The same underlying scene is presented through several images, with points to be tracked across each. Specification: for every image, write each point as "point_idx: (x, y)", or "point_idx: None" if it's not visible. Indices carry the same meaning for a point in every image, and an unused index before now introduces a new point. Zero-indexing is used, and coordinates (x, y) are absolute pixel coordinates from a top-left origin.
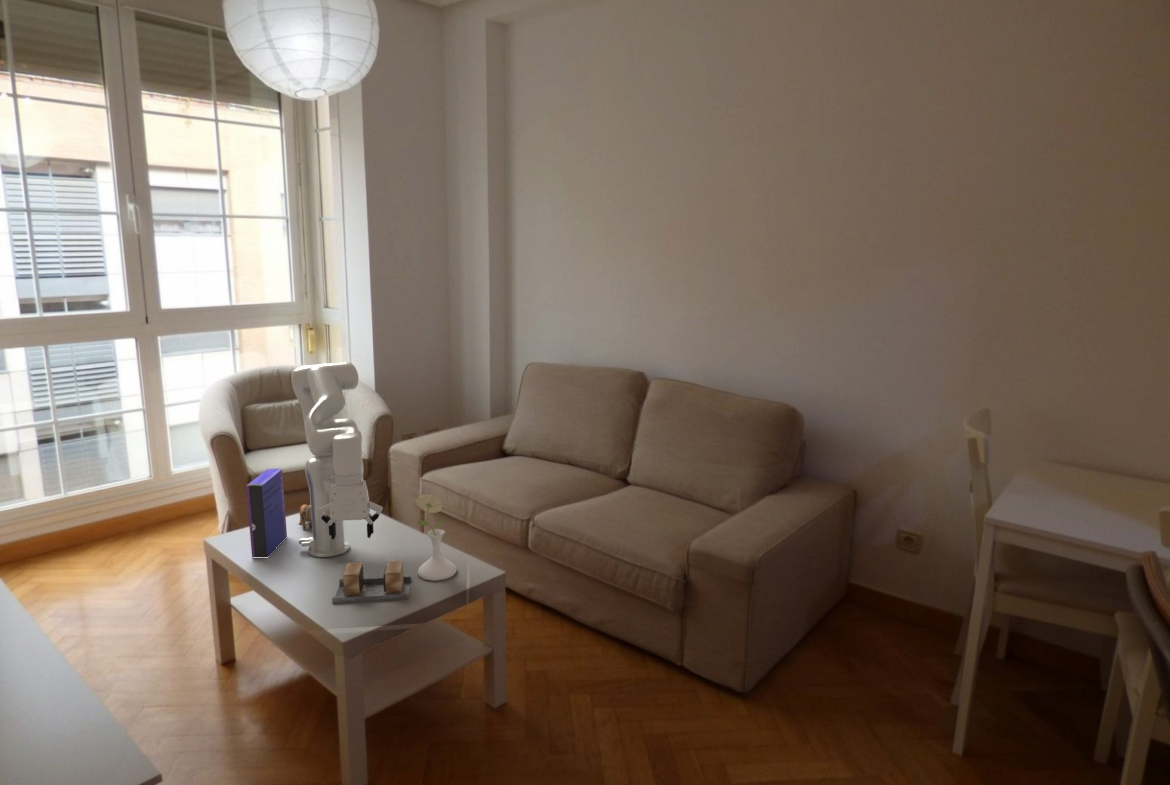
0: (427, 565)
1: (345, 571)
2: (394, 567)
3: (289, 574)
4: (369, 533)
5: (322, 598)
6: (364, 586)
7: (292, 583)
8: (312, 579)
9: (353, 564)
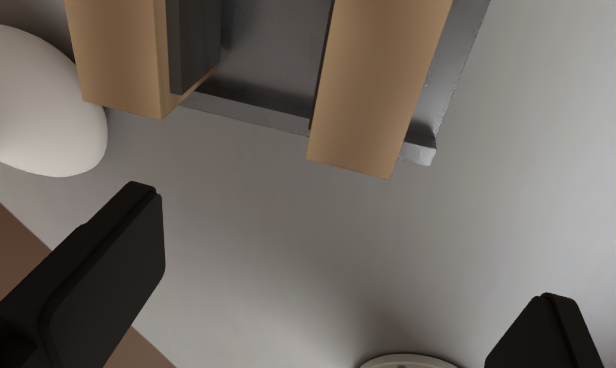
0: (29, 106)
1: (425, 56)
2: (104, 11)
3: (589, 309)
4: (99, 211)
5: (536, 56)
6: None
7: (610, 244)
8: (520, 245)
9: (359, 146)
